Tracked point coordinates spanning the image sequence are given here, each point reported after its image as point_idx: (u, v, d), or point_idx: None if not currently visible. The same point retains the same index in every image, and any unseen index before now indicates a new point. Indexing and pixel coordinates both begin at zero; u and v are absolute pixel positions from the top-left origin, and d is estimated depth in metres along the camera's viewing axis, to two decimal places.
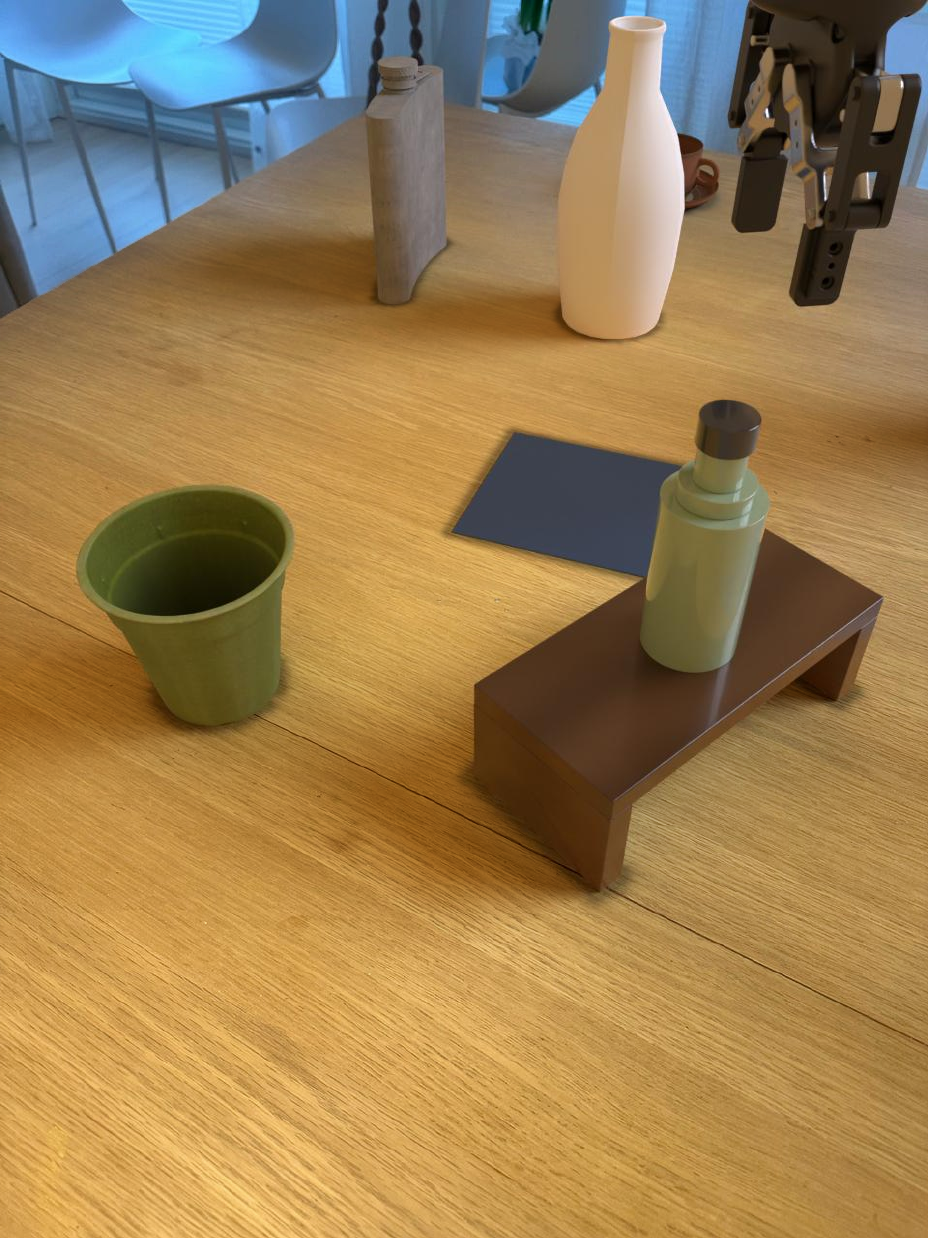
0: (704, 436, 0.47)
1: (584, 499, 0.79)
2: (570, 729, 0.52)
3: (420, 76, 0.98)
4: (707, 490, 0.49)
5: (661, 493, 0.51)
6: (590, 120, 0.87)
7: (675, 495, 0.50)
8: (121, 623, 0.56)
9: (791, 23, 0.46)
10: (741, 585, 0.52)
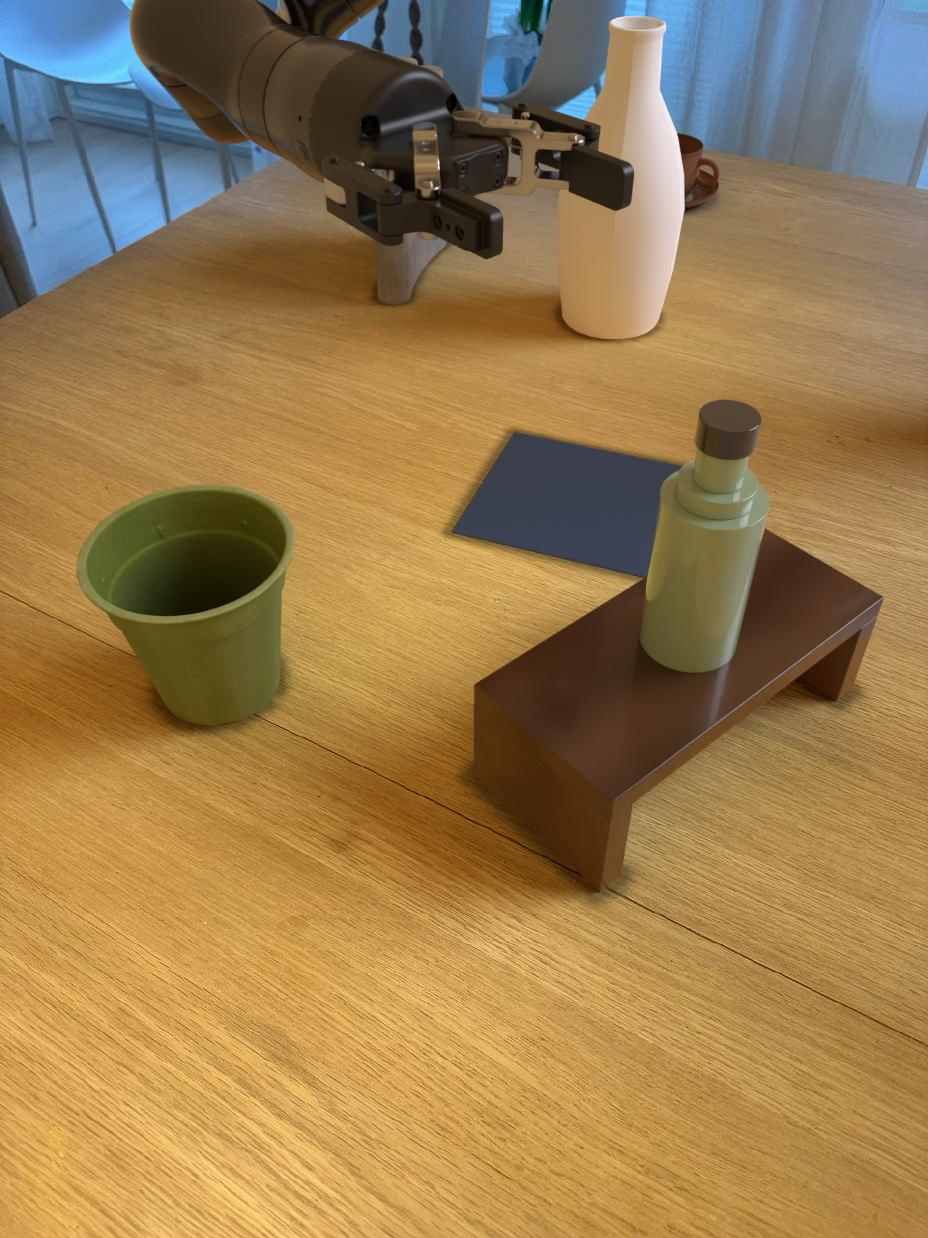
0: (704, 436, 0.47)
1: (584, 499, 0.79)
2: (570, 729, 0.52)
3: None
4: (707, 490, 0.49)
5: (661, 493, 0.51)
6: (590, 120, 0.87)
7: (675, 495, 0.50)
8: (121, 623, 0.56)
9: None
10: (741, 585, 0.52)
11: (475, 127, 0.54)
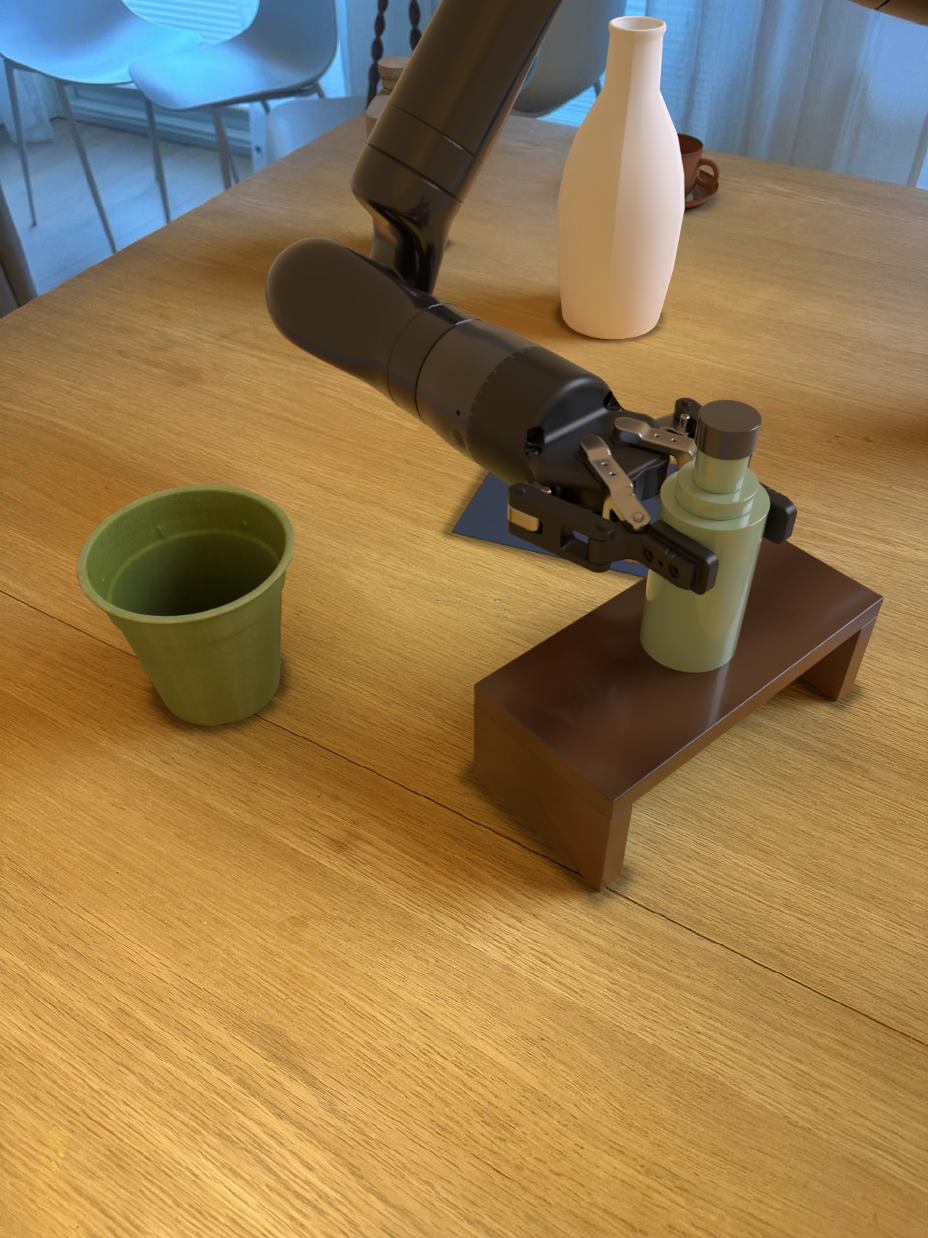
0: (704, 437, 0.47)
1: None
2: (570, 729, 0.52)
3: None
4: (707, 490, 0.49)
5: (661, 493, 0.51)
6: (590, 120, 0.87)
7: (675, 495, 0.50)
8: (121, 623, 0.56)
9: None
10: (741, 585, 0.52)
11: None
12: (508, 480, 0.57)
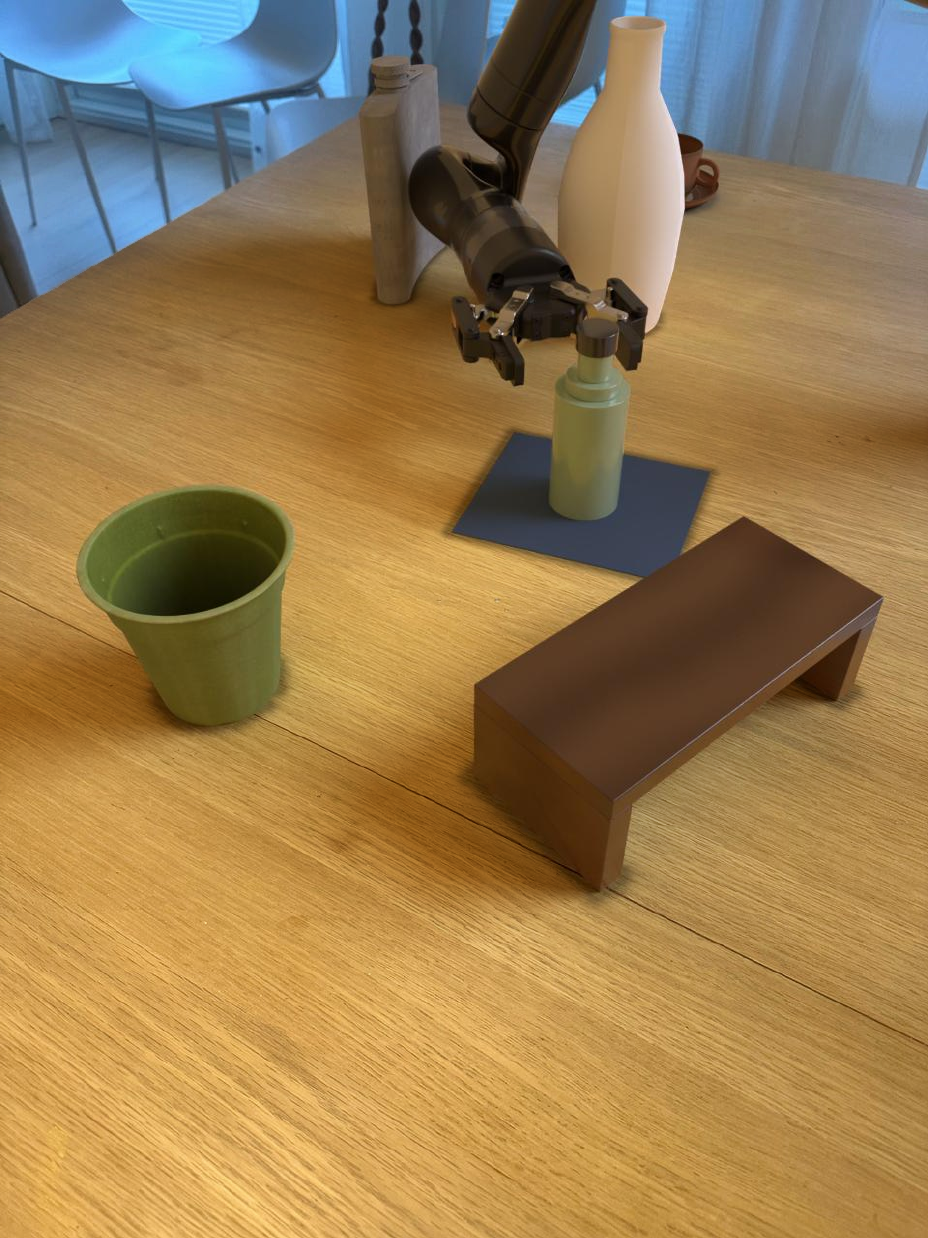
0: (576, 337, 0.70)
1: None
2: (570, 729, 0.52)
3: (413, 75, 0.98)
4: (580, 378, 0.71)
5: (560, 377, 0.73)
6: (590, 120, 0.87)
7: None
8: (121, 623, 0.56)
9: None
10: (597, 455, 0.73)
11: (561, 294, 0.80)
12: None
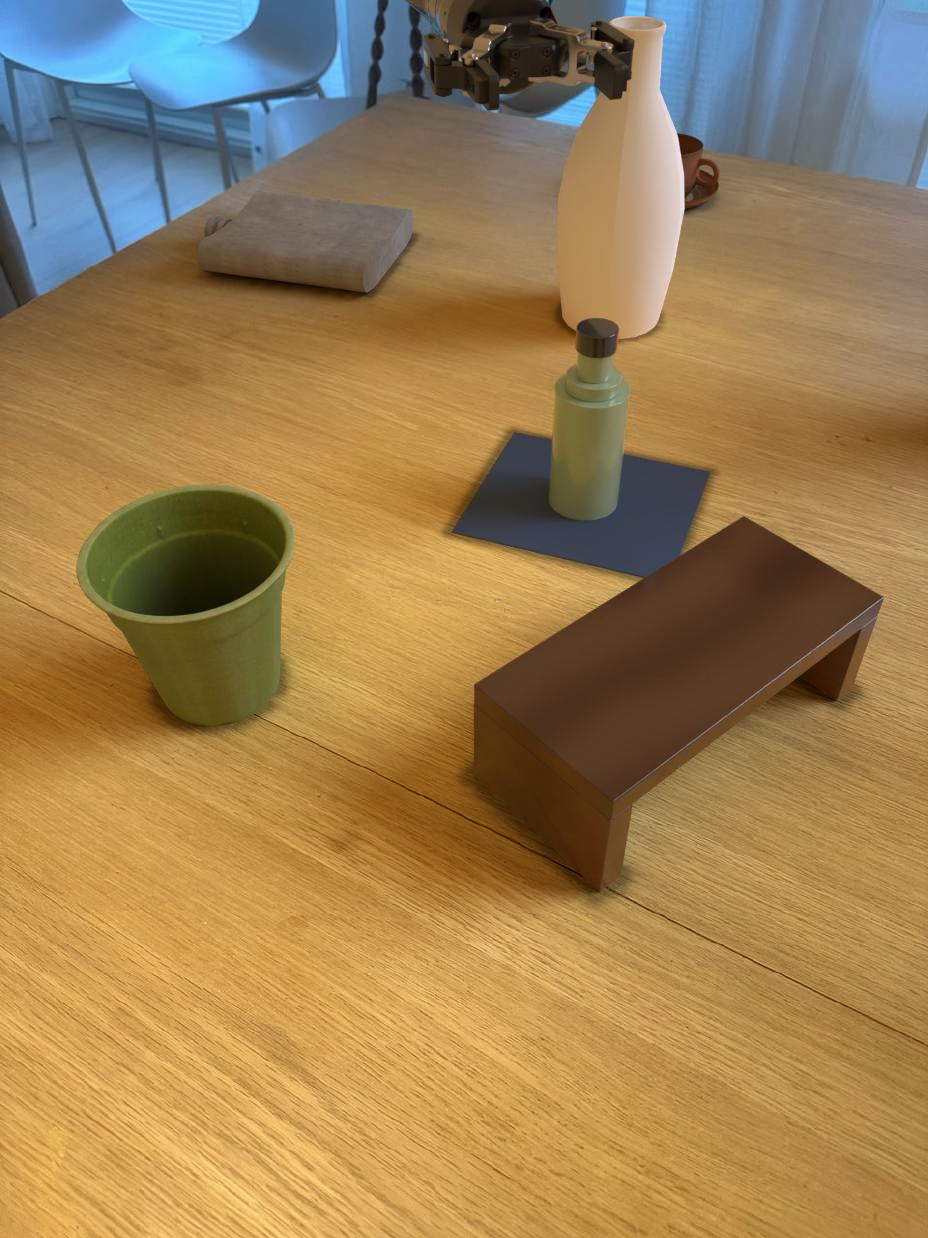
0: (576, 337, 0.70)
1: None
2: (570, 729, 0.52)
3: None
4: (580, 378, 0.71)
5: (560, 377, 0.73)
6: (590, 120, 0.87)
7: None
8: (121, 623, 0.56)
9: None
10: (597, 455, 0.73)
11: (541, 29, 0.74)
12: None
